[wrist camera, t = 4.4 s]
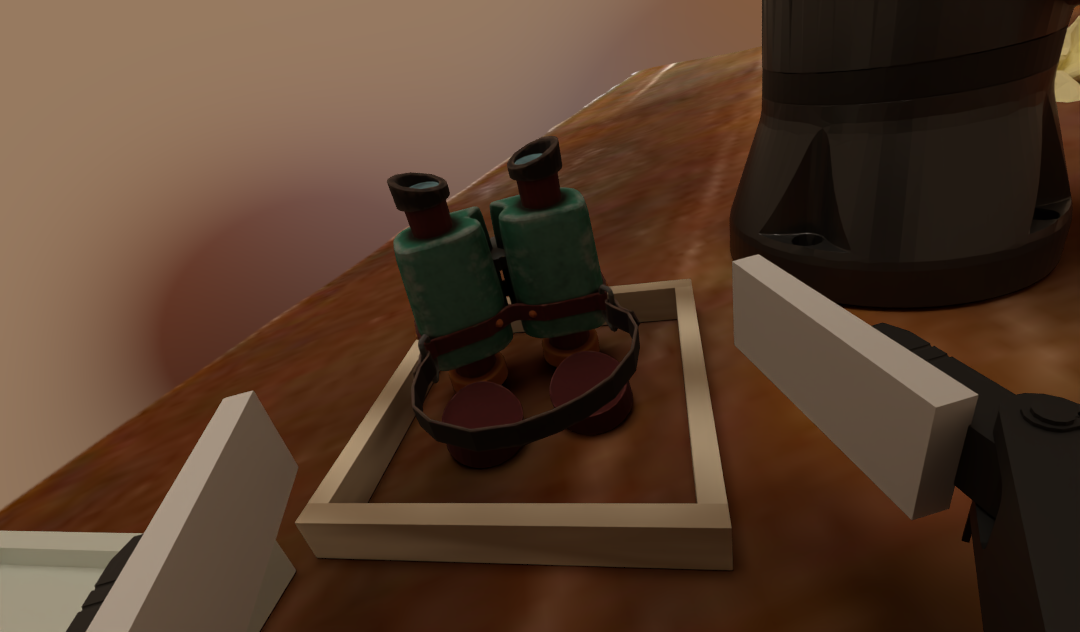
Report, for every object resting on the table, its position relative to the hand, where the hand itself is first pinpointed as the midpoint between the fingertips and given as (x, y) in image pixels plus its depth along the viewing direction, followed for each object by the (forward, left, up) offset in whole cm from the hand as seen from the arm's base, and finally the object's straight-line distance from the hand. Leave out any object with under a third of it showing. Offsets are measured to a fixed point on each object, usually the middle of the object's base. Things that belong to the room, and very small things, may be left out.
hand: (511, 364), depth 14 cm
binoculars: (-6, -1, -7) cm, 9 cm away
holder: (-6, -1, -6) cm, 9 cm away
